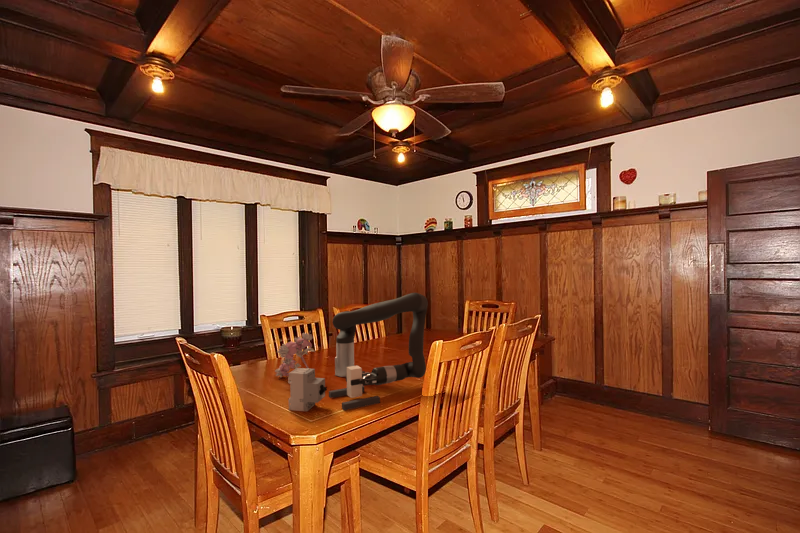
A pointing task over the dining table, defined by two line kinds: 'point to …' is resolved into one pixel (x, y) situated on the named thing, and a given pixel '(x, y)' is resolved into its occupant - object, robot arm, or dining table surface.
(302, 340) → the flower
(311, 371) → the circuit breaker
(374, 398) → the dark gray parallel rails
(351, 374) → the plug block
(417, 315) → the robot arm
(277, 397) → the dining table surface
